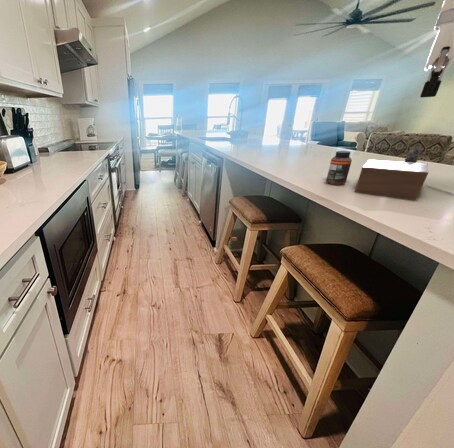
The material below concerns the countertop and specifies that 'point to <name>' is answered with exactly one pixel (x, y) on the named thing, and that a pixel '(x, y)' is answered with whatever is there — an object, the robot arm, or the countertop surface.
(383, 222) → the countertop surface
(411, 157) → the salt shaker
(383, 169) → the lid
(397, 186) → the chest
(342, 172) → the supplement bottle
